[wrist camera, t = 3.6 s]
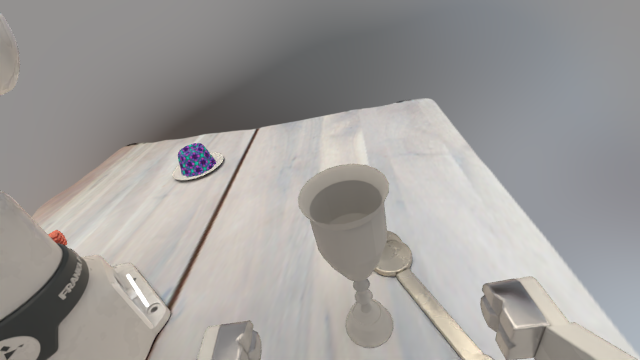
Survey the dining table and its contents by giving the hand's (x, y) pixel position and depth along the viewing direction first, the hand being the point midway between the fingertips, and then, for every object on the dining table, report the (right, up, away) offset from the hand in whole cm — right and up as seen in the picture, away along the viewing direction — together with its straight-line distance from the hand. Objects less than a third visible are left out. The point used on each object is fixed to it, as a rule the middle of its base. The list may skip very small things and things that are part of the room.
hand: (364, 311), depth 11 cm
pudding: (-30, +7, +61) cm, 68 cm away
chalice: (+4, -11, +22) cm, 25 cm away
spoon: (+9, -8, +24) cm, 27 cm away
